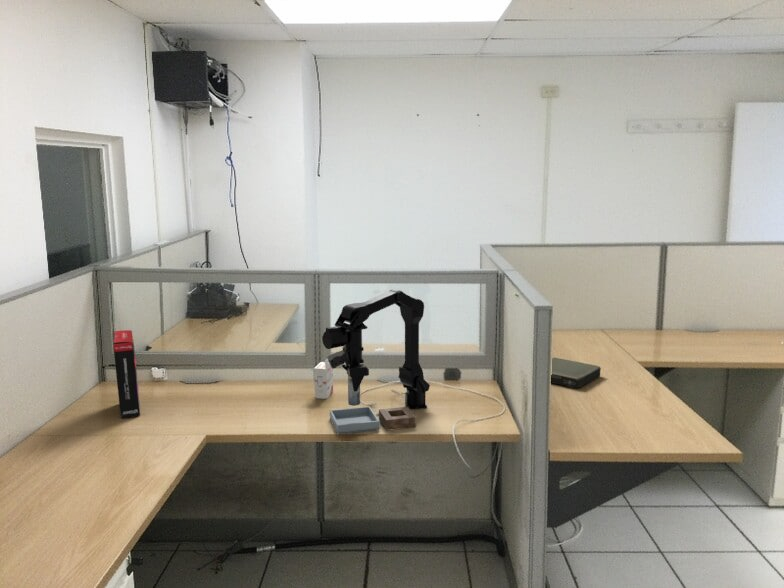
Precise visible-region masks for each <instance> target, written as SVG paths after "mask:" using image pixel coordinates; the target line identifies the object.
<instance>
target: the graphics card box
mask: <svg viewBox="0 0 784 588" xmlns="http://www.w3.org/2000/svg"><path fill="white" fill-rule="evenodd" d="M133 335H134V334H133V330H131V329H130V330H129V329H128V330H124V329H123V330H114V331H113V332H112V346H113V347H112V348H113V356H114V366H115V376H116V385H117V386H116V387H117V395H118V404H119V412H120V418H121V419H125V418H132V417H133V418H134V417H140V416H141V405H140V392H139V381H138V371H137V362H136V361H137V360H136V352H135V344H134V342H135V340H134V336H133Z"/></svg>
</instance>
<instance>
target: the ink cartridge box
mask: <svg viewBox="0 0 784 588" xmlns="http://www.w3.org/2000/svg"><path fill="white" fill-rule="evenodd" d="M333 369H334V368H332V367H331V366H330V363H329V361H328V359H327V358H326V359H325V361H320V362H319V363H318V364H317V365H316V366H315V367H314V368H313V379H314V398H315V399H322V400H323V399H324V400H327V399H328V398H329V397H330V396H331V394H333V393H334V370H333Z"/></svg>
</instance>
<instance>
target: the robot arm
mask: <svg viewBox="0 0 784 588" xmlns="http://www.w3.org/2000/svg"><path fill="white" fill-rule="evenodd" d="M393 305H396V306H397V307H399V312H400V316H401V318H402V320H403V322H404V363H403V365H402V366H399V367H398V373H399V374H398V377H397V378H399V381H400V383H401V384H402V386H403V388H404V389H406V392H405V393H404V403H405V405H406V407H408V408H409V410H413V409H414V410H415V409H423V408H424V409H425V408H428V405H427V404H426V394H427V392H428V391H429V390H430V386H431V385H430V383H429V382H428V381H426V380H425V378H424V377H425V376H424V371H423V370H424V369H423V368H422V366H421V364H420V356H419V355H420V322H421V321H422V318H423V317H424V313H425V303H424V302H423V300H422V299H419V298H415V297H412V296H410V295H408V294H406V293H405V292H404V291H402V290H400V289H393V288H392V289H390V290H389V291H386V292H384V293H382V294H380V295H378V296H375V297H372V298H370V299H368V300H366V301H363V302H355V303H350V304H346V305H344V306H343V307H342V309H341V312H340V314H339V316H338V318H337V319H336V321H335V323H334V326H331V327H330V326H329V327H325V331H324V332H323V334H322V336H321V340H322V343H323V346H324V348H325V349H326V350H331V349H335V348H339V347H340V348H342V349H341V350H340V351H336V352H334V353H332V354H330V355H328V356H327V357H326V360H327V359H328V362H329V363H330V366H331V367H332V368H333V369H337V367H339V366H341V367H342V368H343V369H344V370H345V371H346V374H347V376H348V375H349V376H350V377H351V380H352V385H353V390H354V391H357V390H358V388H359V386H360V387H361V384H362V382H363V379H364V378H365V377H368V376H369V375H370V370H369V368H368V366H366V364H364V358H363V352H364V349H365V348H364V346H363V330H366V329H368V325H366V324H364V322H366V321H367V320H369V318H370V316H372V315H373V314H375V313H377V312H380V311H382V310H384V309H386V308H388V307H390V306H393Z"/></svg>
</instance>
